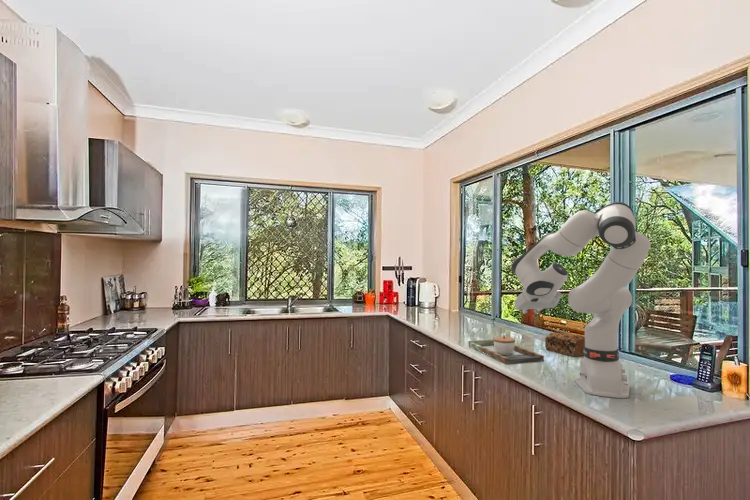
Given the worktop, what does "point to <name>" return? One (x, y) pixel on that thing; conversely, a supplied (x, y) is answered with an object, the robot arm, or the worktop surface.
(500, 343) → the lidded jar
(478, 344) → the wooden serving tray
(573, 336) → the bread
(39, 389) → the worktop surface
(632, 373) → the worktop surface
